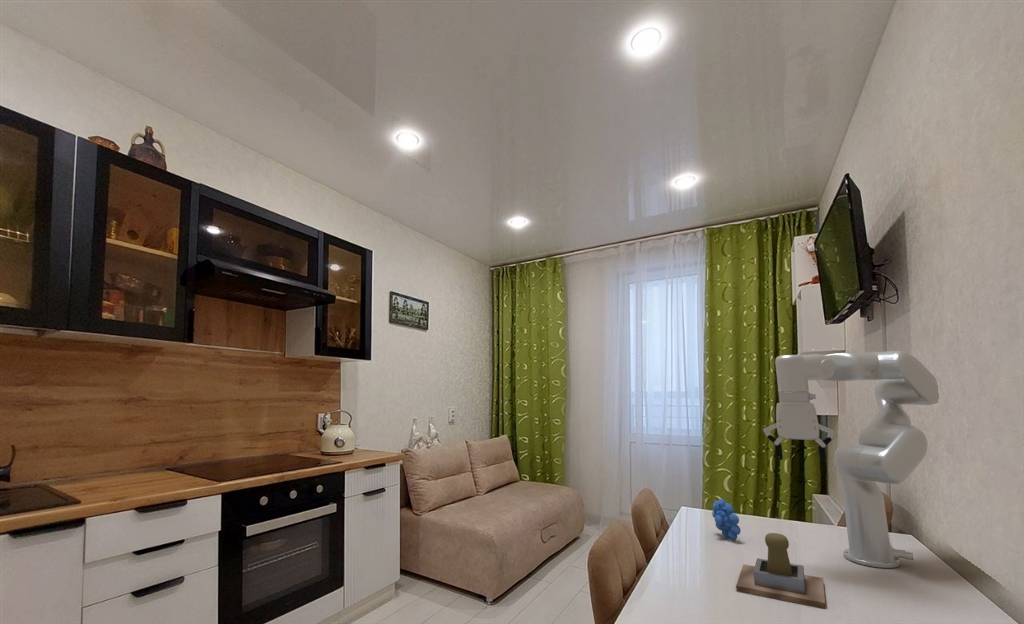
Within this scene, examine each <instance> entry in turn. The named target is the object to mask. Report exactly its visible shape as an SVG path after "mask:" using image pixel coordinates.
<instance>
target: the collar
mask: <svg viewBox="0 0 1024 624" xmlns="http://www.w3.org/2000/svg"><path fill="white" fill-rule="evenodd" d="M767 564H768V559H763V558H756V561H755V565H754V566H755V567H754V571H753V573H754V584H755V585H758V586H763V587H769V588H774V589H779V590H784V591H790V592H795V593H800V594H805V575H806V574H805V568H804V567H805V566H804V565H800V564H796V563H795V564H794V563H790V565H791V569H792V573H793V577H791V576H786V575H780V574H774V573H769V572H767Z"/></svg>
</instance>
